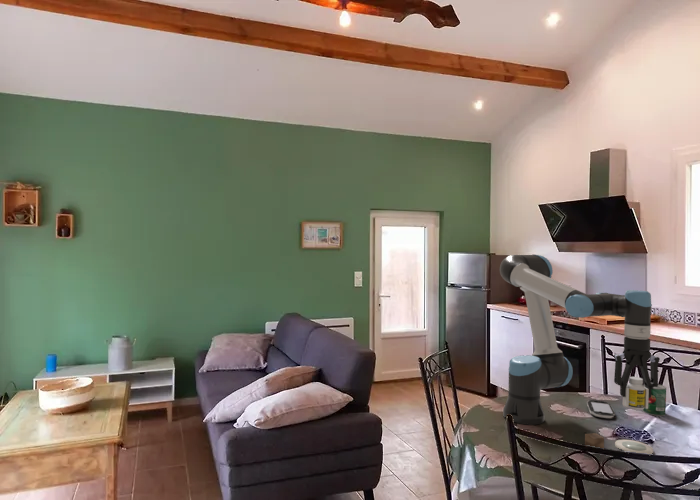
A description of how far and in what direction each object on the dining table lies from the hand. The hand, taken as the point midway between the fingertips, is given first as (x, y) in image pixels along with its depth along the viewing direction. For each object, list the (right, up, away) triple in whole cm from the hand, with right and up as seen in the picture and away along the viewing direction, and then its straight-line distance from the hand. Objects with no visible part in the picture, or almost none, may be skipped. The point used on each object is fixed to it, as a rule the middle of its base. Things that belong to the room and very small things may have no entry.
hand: (635, 406), depth 163 cm
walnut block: (-13, -14, +1) cm, 19 cm away
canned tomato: (+29, -14, +36) cm, 49 cm away
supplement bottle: (0, -1, 0) cm, 1 cm away
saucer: (0, -14, 0) cm, 14 cm away
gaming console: (+7, -14, +37) cm, 40 cm away
